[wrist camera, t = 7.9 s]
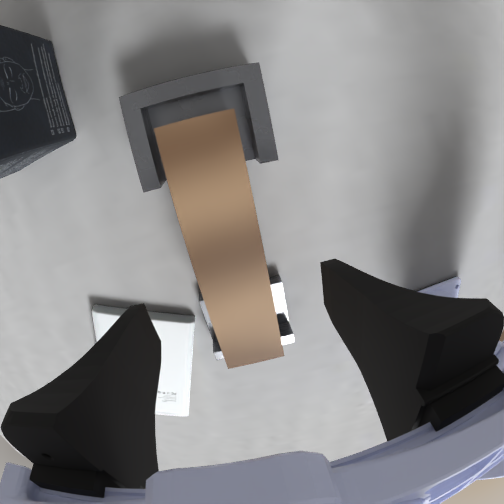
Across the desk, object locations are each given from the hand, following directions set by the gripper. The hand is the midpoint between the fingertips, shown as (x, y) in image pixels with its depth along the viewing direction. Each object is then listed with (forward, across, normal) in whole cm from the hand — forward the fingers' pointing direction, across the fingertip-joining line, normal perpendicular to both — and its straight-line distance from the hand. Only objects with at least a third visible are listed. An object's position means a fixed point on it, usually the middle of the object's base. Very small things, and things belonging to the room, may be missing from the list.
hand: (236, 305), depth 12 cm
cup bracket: (+9, 0, -6) cm, 11 cm away
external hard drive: (+10, +10, +11) cm, 18 cm away
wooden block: (+8, 0, 0) cm, 8 cm away
